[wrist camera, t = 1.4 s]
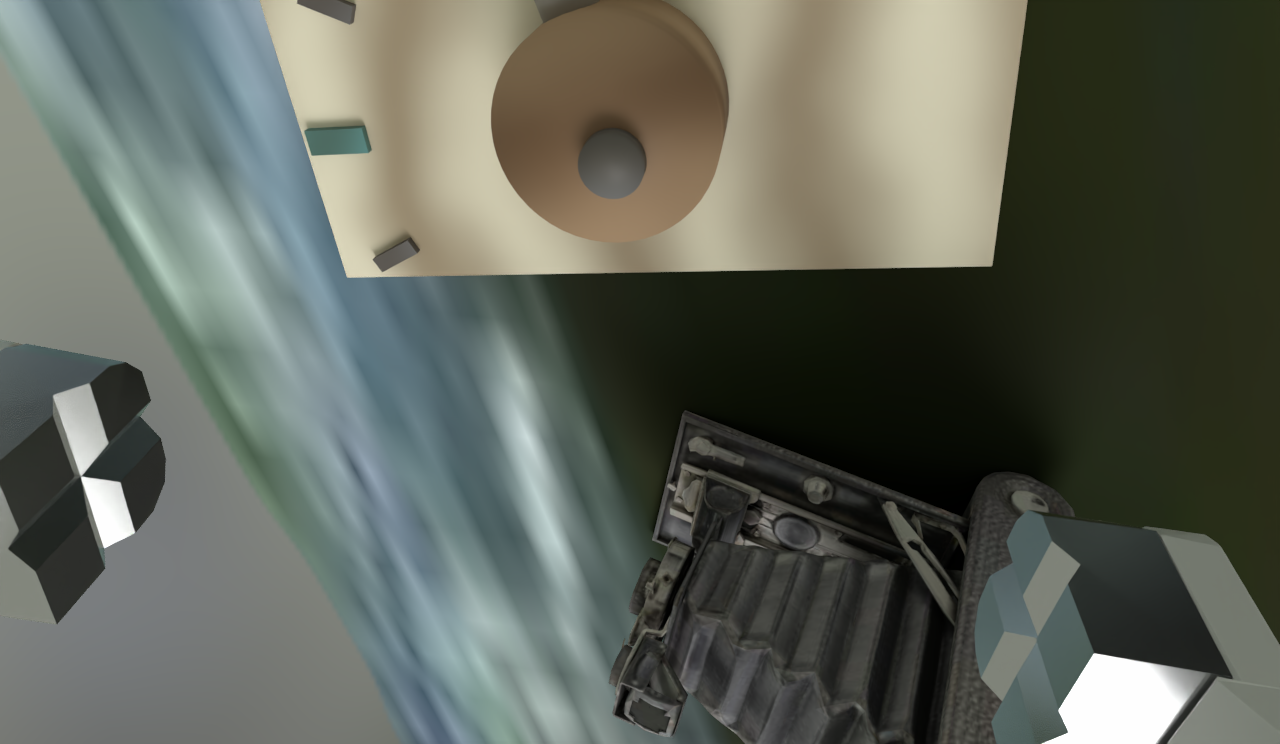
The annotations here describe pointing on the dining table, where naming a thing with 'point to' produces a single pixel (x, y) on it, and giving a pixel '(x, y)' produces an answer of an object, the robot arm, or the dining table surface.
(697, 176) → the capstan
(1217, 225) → the dining table surface
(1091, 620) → the robot arm
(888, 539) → the camera
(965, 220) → the board
